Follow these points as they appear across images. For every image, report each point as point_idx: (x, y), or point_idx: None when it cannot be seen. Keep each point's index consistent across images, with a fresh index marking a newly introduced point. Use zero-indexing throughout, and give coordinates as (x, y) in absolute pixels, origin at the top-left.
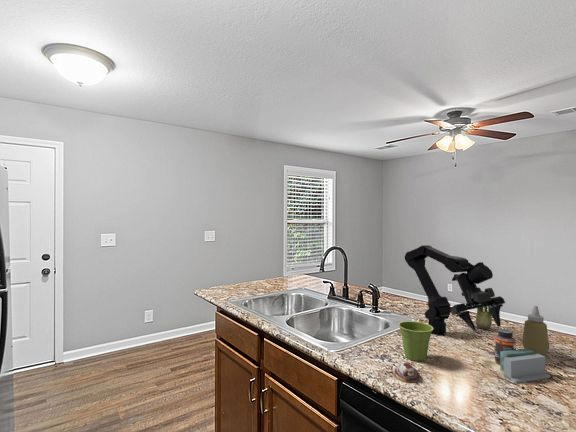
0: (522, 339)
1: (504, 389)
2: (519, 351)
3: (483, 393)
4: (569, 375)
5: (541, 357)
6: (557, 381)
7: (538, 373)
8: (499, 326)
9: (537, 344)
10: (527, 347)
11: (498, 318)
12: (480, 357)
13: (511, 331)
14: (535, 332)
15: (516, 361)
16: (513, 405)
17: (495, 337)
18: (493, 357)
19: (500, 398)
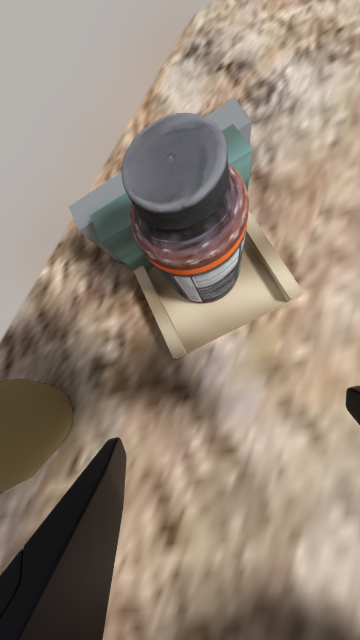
0: (32, 463)
1: (277, 106)
2: None
3: (356, 52)
4: (47, 268)
5: (87, 195)
6: None
7: None
8: (119, 445)
9: (10, 386)
10: (54, 408)
11: (69, 510)
12: (296, 284)
13: (125, 161)
14: None
15: None
16: (286, 32)
17: (247, 209)
18: (225, 329)
19: (310, 49)
